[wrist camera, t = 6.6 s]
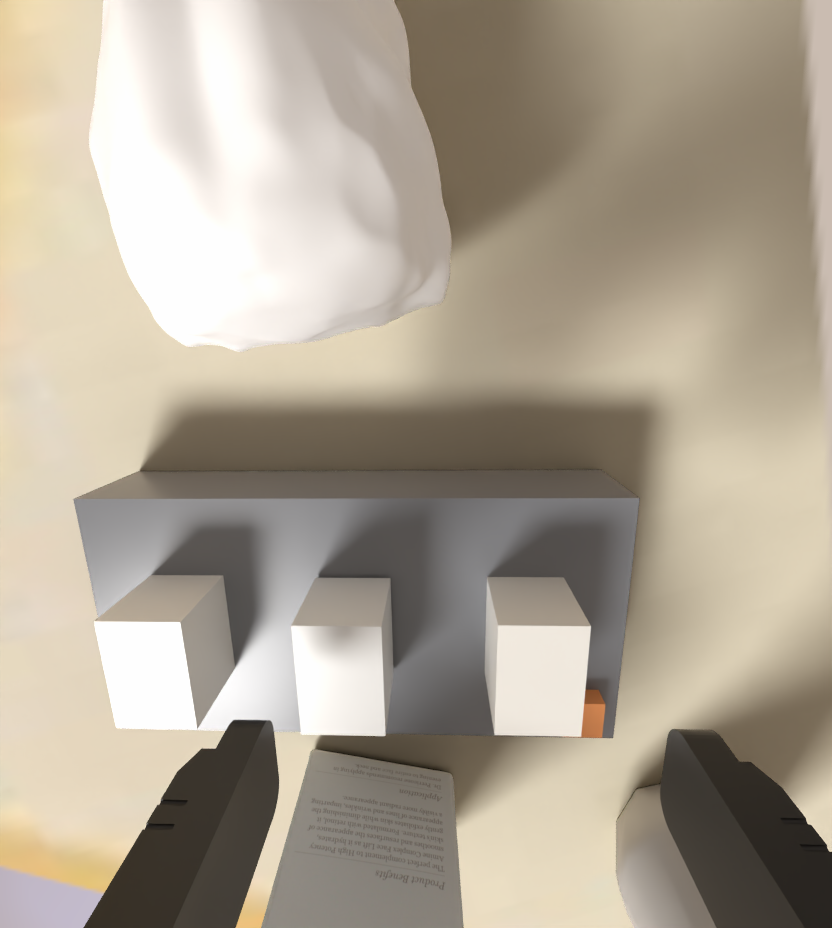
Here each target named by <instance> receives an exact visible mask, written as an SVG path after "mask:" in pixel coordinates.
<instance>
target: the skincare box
mask: <svg viewBox="0 0 832 928" xmlns="http://www.w3.org/2000/svg"><path fill="white" fill-rule="evenodd" d="M261 928H463V913H462V900H461V886H460V871H459V858H458V843H457V831H456V816H455V798H454V783H453V777H452V775H451V774H450V773H448V772H443V771H437V770H431V769H425V768H420V767H414V766H408V765H402V764H397V763H391V762H385V761H380V760H374V759H368V758H362V757H357V756H351V755H345V754H340V753H334V752H328V751H322V750H316V749H314V750H312V751H311V753H310V756H309V761H308V765H307V768H306V772H305V776H304V779H303V783H302V786H301V790H300V793H299V797H298V800H297V803H296V807H295V811H294V814H293V818H292V821H291V825H290V828H289V832H288V835H287V839H286V842H285V846H284V849H283V853H282V856H281V860H280V863H279V867H278V870H277V874H276V877H275V881H274V884H273V888H272V891H271V895H270V898H269V902H268V905H267V909H266V913H265V916H264V920H263V923H262V926H261Z"/></svg>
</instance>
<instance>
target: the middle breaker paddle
mask: <svg viewBox="0 0 832 928" xmlns="http://www.w3.org/2000/svg"><path fill="white" fill-rule="evenodd" d="M291 631H292V642H293V653H294V664H295V674H296V685H297V696H298V707H299V718H300V728H301V735H351V736H386V728H387V720H388V712H389V704H390V696H391V688H392V680H393V640H392V608H391V578H315V580H314V582H313V584H312V586H311V588H310V590H309V592H308V594H307V595H306V597H305V599H304V601H303V603H302V605H301V607H300V609H299V611H298V613H297V615H296V617H295V619H294V621H293V623H292V625H291Z"/></svg>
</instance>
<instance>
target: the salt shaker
mask: <svg viewBox="0 0 832 928" xmlns="http://www.w3.org/2000/svg"><path fill="white" fill-rule="evenodd" d="M660 786H661V784H658V785H653V786H649V787H644V788H640V789H636V791H635V792H634V794H633V795H632V797H631V799H630V800H629V802H628V803H627V805H626V807H625V808H624V810H623V811H622V813H621V815H620V816H619V818H618V819H617V821H616V876H617V880H618V885H619V889H620V892H621V896H622V899H623V902H624V905H625V908H626V912H627V914H628V916H629V918H630V920H631V922H632V924H633V926H634V928H716V926H715V924H714V922H713V920H712V918H711V916H710V913H709V911H708V909H707V907H706V905H705V903H704V901H703V899H702V897H701V895H700V893H699V891H698V889H697V887H696V885H695V882H694V880H693V878H692V876H691V874H690V872H689V870H688V868H687V866H686V864H685V862H684V860H683V858H682V856H681V854H680V852H679V849H678V847H677V845H676V843H675V841H674V839H673V837H672V835H671V833H670V831H669V829H668V826H667V824H666V821H665V818H664V815H663V811H662V806H661V800H660Z"/></svg>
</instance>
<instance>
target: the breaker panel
mask: <svg viewBox="0 0 832 928" xmlns="http://www.w3.org/2000/svg"><path fill="white" fill-rule="evenodd" d="M639 500H640V498H639V497H637V496H636V495H635V494H633V493H632V492H631V491H629V490H628V489H627V488H625V487H624V486H623V485H621V484H620V483H619V482H617V481H616V480H615V479H613V478H612V477H611V476H609V475H608V474H607V473H605V472H604V471H603V470H380V471H138V472H136V473H133V474H131V475H129V476H126V477H124V478H122V479H119V480H117V481H115V482H112V483H110V484H107V485H105V486H103V487H100V488H98V489H96V490H93V491H91V492H89V493H86V494H84V495H82V496H79V497H77V498H75V499H74V504H75V508H76V513H77V518H78V523H79V528H80V532H81V537H82V542H83V547H84V552H85V556H86V561H87V566H88V571H89V575H90V580H91V585H92V590H93V595H94V599H95V604H96V609H97V614H98V618H97V619H96V620H95V621H94V625H95V630H96V635H97V639H98V644H99V649H100V653H101V658H102V663H103V668H104V672H105V677H106V682H107V686H108V691H109V696H110V701H111V705H112V710H113V715H114V719H115V724H116V728H121V729H168V730H219V731H226V729H227V727H228V726H229V724H230V723H231V722H232V721H233V720H270V721H271V722H272V724H273V729H274V732H301V728H300V718H299V707H298V696H297V685H296V674H295V664H294V653H293V642H292V631H291V625H292V623H293V621H294V619H295V617H296V615H297V613H298V611H299V609H300V607H301V605H302V603H303V601H304V599H305V597H306V595H307V594H308V592H309V590H310V588H311V586H312V584H313V582H314V580H315V578H391V608H392V640H393V680H392V688H391V696H390V704H389V712H388V720H387V728H386V734H424V735H476V736H527V737H578V738H613V734H614V725H615V716H616V707H617V698H618V689H619V680H620V671H621V662H622V653H623V644H624V635H625V626H626V617H627V608H628V599H629V590H630V581H631V572H632V563H633V554H634V545H635V536H636V527H637V518H638V509H639Z"/></svg>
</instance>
